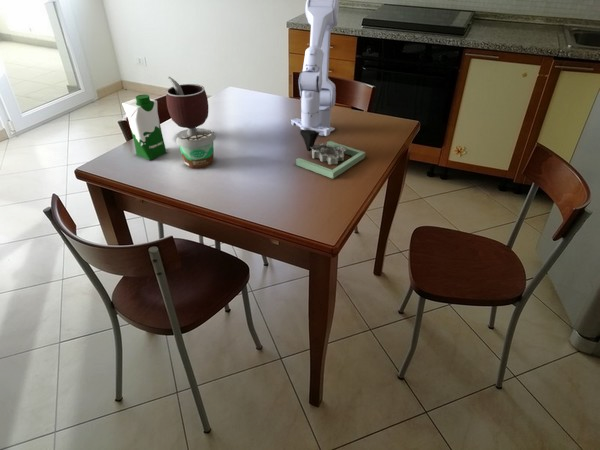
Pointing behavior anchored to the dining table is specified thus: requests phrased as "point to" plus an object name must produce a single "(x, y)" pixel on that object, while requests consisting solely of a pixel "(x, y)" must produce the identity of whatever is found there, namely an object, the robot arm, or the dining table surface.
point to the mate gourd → (187, 107)
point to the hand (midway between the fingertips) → (310, 150)
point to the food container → (197, 150)
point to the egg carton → (328, 153)
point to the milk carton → (145, 127)
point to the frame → (339, 169)
